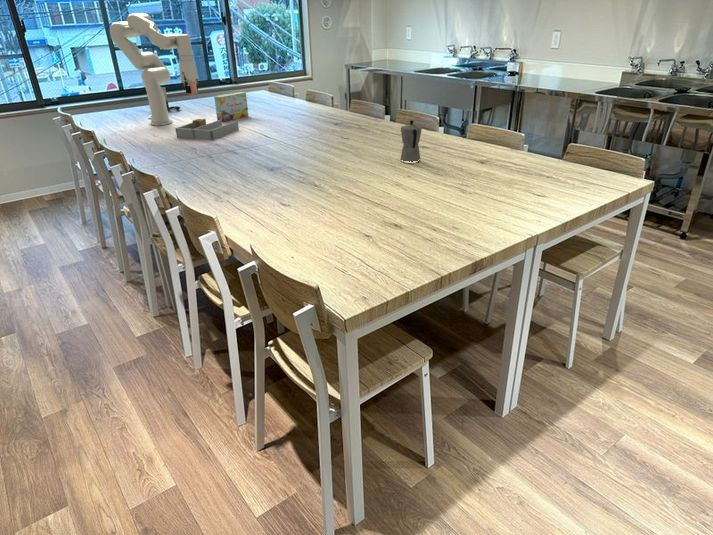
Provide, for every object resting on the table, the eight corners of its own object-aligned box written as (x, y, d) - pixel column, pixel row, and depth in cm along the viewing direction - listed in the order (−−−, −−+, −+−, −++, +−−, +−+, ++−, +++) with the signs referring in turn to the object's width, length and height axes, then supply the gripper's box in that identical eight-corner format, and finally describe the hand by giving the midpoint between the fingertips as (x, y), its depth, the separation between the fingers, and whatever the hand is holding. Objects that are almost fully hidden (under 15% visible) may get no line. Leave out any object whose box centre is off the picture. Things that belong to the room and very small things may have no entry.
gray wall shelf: (177, 137, 268) (175, 128, 265) (205, 127, 289) (204, 118, 287) (212, 140, 261) (211, 130, 258) (238, 129, 282) (237, 120, 280)
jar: (185, 94, 281) (182, 80, 277) (191, 93, 285) (189, 79, 282) (193, 95, 279) (191, 80, 275) (199, 93, 284) (197, 79, 280)
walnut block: (194, 133, 276) (192, 120, 273) (200, 131, 280) (197, 118, 277) (201, 133, 274) (199, 121, 271) (207, 131, 278) (205, 119, 275)
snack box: (223, 122, 300) (219, 96, 293) (217, 121, 303) (213, 96, 296) (249, 116, 315) (246, 91, 308) (243, 115, 318) (240, 91, 311)
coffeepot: (397, 157, 226) (398, 117, 217) (417, 156, 226) (419, 116, 218) (403, 167, 212) (404, 125, 204) (424, 166, 213) (426, 124, 204)
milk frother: (155, 110, 341) (150, 87, 334) (178, 107, 346) (174, 85, 339) (157, 113, 329) (152, 90, 322) (181, 111, 335) (177, 88, 328)
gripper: (190, 57, 281) (195, 90, 290) (170, 60, 267) (177, 94, 276) (201, 57, 279) (206, 90, 288) (182, 60, 265) (188, 95, 273)
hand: (192, 92), depth 282 cm, fingers closed on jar, 5 cm apart
